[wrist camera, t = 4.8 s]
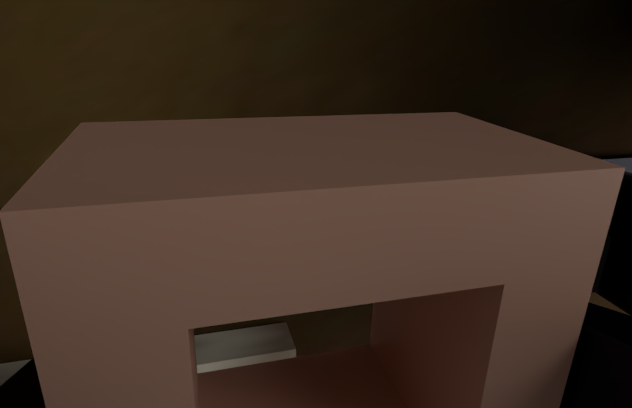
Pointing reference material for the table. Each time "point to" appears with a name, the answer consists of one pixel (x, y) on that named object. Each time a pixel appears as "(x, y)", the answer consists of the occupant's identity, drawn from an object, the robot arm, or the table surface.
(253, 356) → the post stand
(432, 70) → the table surface
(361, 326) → the table surface
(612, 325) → the robot arm
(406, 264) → the collar
